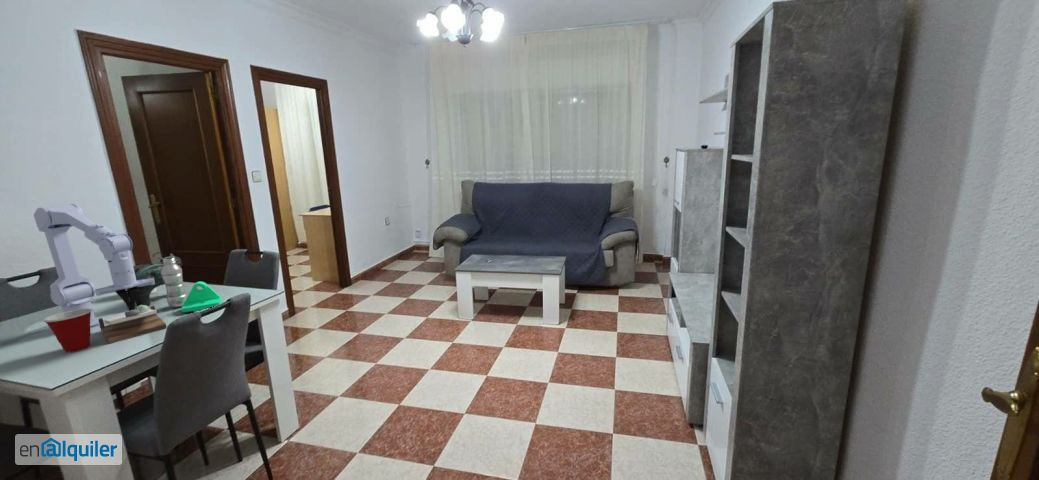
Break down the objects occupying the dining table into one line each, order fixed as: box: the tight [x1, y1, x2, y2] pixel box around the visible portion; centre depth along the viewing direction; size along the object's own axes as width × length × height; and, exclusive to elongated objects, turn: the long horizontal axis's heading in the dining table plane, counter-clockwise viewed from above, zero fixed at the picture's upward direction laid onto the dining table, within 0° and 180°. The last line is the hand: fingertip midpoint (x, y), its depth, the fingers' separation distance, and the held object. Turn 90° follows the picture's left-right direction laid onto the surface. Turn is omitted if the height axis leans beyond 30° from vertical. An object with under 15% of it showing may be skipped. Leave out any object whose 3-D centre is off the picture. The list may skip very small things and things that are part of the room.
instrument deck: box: [104, 305, 158, 325], centre depth 147 cm, size 15×12×3 cm
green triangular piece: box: [181, 281, 222, 313], centre depth 165 cm, size 12×8×10 cm, turn 120°
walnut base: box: [97, 305, 167, 344], centre depth 147 cm, size 16×15×5 cm
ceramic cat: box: [134, 251, 183, 307], centre depth 174 cm, size 20×6×20 cm, turn 169°
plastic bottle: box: [161, 256, 188, 308], centre depth 166 cm, size 6×7×20 cm
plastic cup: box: [42, 307, 93, 353], centre depth 133 cm, size 11×11×12 cm
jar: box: [133, 263, 158, 295], centre depth 183 cm, size 9×8×12 cm
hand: (131, 309), depth 142 cm, fingers closed
